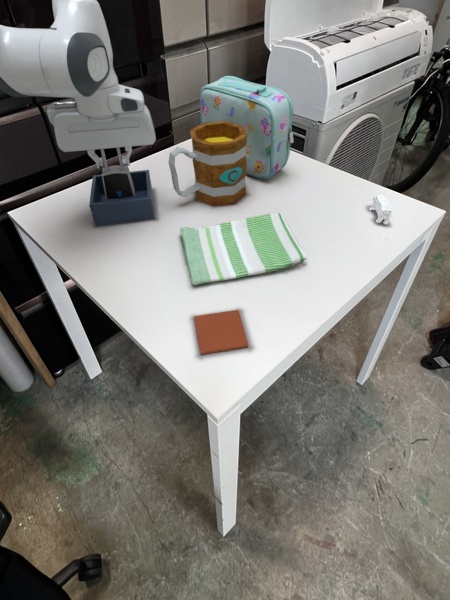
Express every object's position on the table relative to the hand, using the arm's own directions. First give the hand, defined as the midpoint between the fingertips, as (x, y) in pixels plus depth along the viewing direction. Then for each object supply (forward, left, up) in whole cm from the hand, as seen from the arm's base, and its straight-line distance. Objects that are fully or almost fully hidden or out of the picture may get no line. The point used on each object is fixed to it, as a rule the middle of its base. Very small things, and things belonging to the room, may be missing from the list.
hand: (114, 166), depth 83 cm
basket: (0, 0, -11) cm, 11 cm away
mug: (+21, +1, -11) cm, 24 cm away
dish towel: (+24, -22, -11) cm, 35 cm away
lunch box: (+34, +15, -11) cm, 38 cm away
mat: (+16, -43, -11) cm, 47 cm away
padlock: (0, 0, -7) cm, 7 cm away
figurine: (+58, -16, -11) cm, 62 cm away
